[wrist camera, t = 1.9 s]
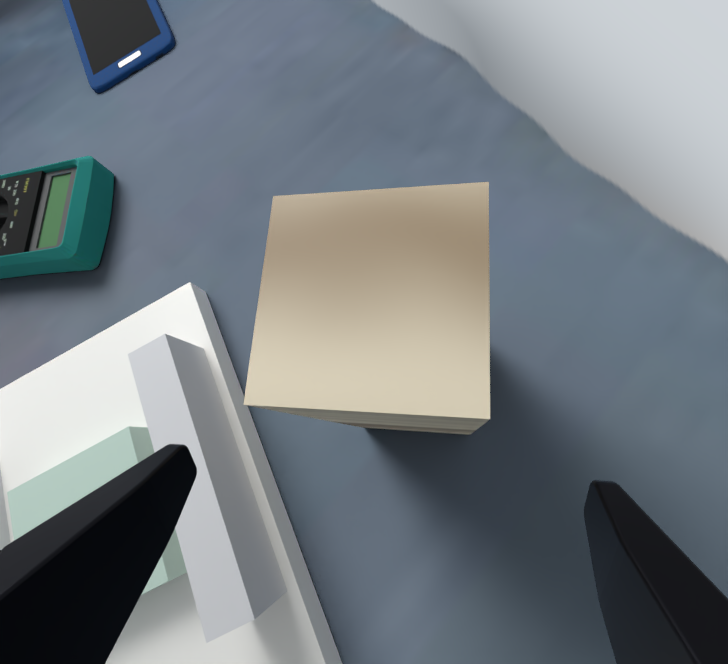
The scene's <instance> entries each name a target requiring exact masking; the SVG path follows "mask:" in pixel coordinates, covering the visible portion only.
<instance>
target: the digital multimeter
mask: <svg viewBox="0 0 728 664" xmlns="http://www.w3.org/2000/svg"><path fill="white" fill-rule="evenodd" d="M113 185H114V174H113V173H112V172H111V171H109V170H108V169H107V168H105V167H104V166H103V165H102V164H100V163H99V162H98V161H96V160H95V159H94V158H93V157H91V156H85V157H81V158H76V159H72V160H67V161H63V162H59V163H54V164H50V165H45V166H41V167H37V168H32V169H28V170H23V171H18V172H14V173H9V174H4V175H0V279H3V278H11V277H19V276H27V275H36V274H45V273H58V272H71V271H83V270H92V269H95V268H96V267H98V266H99V263H100V260H101V256H102V252H103V248H104V244H105V240H106V236H107V232H108V228H109V222H110V216H111V210H112V199H113ZM22 252H24V253H22ZM16 253H17V254H16ZM9 254H11V255H9ZM3 255H4V256H3Z"/></svg>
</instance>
